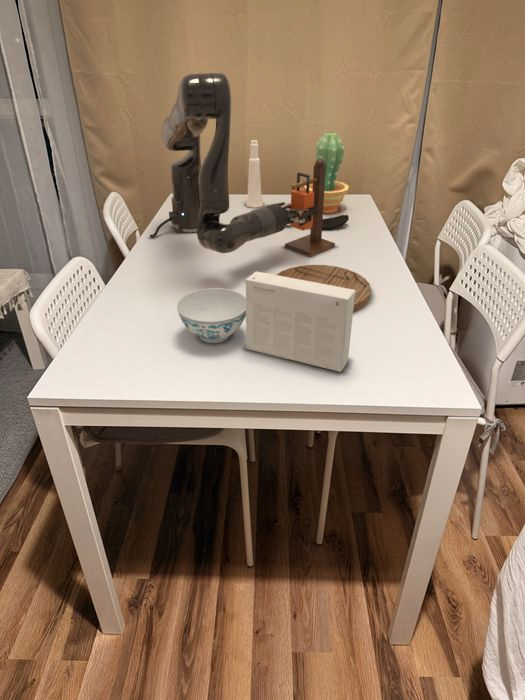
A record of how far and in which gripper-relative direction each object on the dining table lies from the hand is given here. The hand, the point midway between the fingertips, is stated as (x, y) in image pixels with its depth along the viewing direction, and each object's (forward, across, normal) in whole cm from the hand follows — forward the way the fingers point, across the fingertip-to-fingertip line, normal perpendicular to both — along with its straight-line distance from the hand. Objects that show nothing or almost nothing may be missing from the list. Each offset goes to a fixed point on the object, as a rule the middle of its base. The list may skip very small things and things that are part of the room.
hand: (308, 207), depth 152 cm
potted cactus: (+32, +20, +12) cm, 39 cm away
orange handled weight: (-3, 0, +5) cm, 6 cm away
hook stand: (0, 0, +12) cm, 12 cm away
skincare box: (-44, -37, +13) cm, 58 cm away
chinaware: (-51, -19, +13) cm, 56 cm away
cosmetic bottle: (+17, +40, +12) cm, 45 cm away
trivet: (-19, -22, +13) cm, 31 cm away
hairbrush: (+15, +12, +12) cm, 23 cm away
